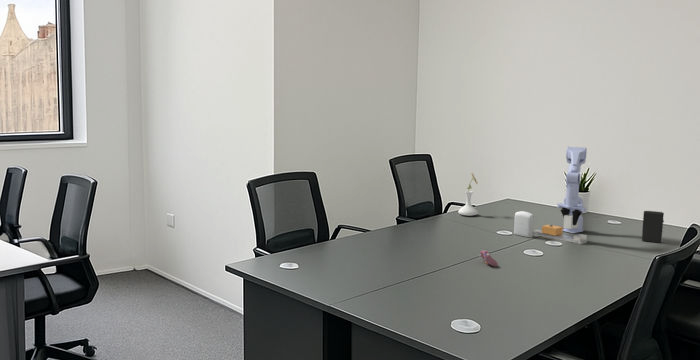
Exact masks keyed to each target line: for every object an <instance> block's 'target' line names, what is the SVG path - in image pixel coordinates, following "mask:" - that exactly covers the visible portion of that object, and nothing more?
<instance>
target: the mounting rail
mask: <svg viewBox="0 0 700 360" xmlns="http://www.w3.org/2000/svg"><path fill="white" fill-rule="evenodd" d="M533 235H536V236H542V237H545V238H551V239H555V240H561V241H564V242H570V243H574V244H579V245H583V244H588V238H587V237H588V235H587V234H582V233H579V234H575V235H572V236H570V235H567V234H560V235H556V236H555V235H550V234H546V233H542V229H537V228H536V229H533Z"/></svg>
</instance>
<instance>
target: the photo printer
mask: <svg viewBox="0 0 700 360" xmlns="http://www.w3.org/2000/svg"><path fill="white" fill-rule="evenodd" d="M513 221H514V223H513V235H516V236H521V237H525V238H533V237H534V234H533V230H534V227H535V225H534V223H535V216H534V215H533V214H532V213H531V212H528V211H523V210H522V211H521V210H520V211H516V212H515V214H514V220H513Z"/></svg>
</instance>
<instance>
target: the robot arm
mask: <svg viewBox="0 0 700 360" xmlns="http://www.w3.org/2000/svg"><path fill="white" fill-rule="evenodd" d="M587 149H588V148H587V147H585V146H583V147H581V146H580V147H579V146H567V147H566V153H565V159H566V163H568V167H567V173H566V177H565V182H566V185H565V187H566V192H565V194H566V195H565V197H564V198H563V202H562V203H557V206H556V207H557V208H558V209H560V212H561V214H562V217H563V219H564V215H569V214H573V225H576V224H577V221H578V227H577V228H572V229H569V228H564V227H563V232H565V233H570V234H577V233H581V232H584V231H585V230H584V229H583V227H584V222H583V221H584V217H583V215H582V214H583V213H585V212H587V207H584V199H583V198H582V197H580V196H579V192H580V191H579V190H580V184H581V175H582V174H581V169H582V168H581V167H582V165H584V164H586V162H587V160H586V159H587Z"/></svg>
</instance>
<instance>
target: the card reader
mask: <svg viewBox="0 0 700 360" xmlns="http://www.w3.org/2000/svg"><path fill="white" fill-rule="evenodd" d="M664 214H665V213H664V212H662V211H655V210H643V218H642V233H641V241H642V242H647V243H649V242H650V243H656V244H657V243H662V236H663V229H664V228H663V227H664V221H665V220H664Z"/></svg>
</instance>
